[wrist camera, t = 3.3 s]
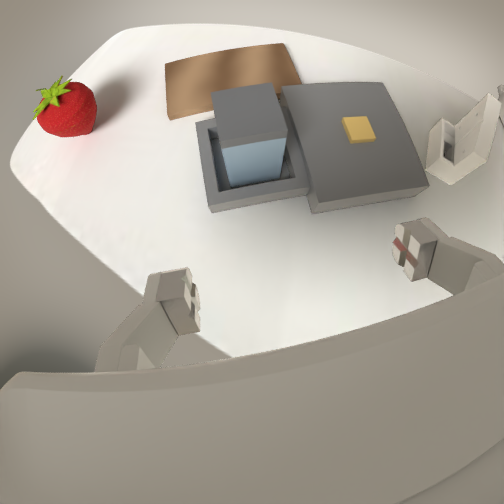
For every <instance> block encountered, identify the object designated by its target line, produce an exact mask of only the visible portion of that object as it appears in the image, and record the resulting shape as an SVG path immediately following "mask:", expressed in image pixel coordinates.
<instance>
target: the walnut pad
mask: <svg viewBox="0 0 504 504" xmlns="http://www.w3.org/2000/svg"><path fill="white" fill-rule="evenodd" d="M165 80H166V100H167V115H168V117H169V119H170V120H174V119H177V118H181V117H185V116H189V115H194V114H198V113H202V112H207V111H211V110H214V109H213V103H212V98H211V92H215V91H221V90H226V89H231V88H237V87H243V86H249V85H256V84H263V83H271V82H272V84H273V87H274V90H275V93H276V96H277V98H278V99H280V94H281V86H290V85H301V84H302V83H301V81H300V79H299V76H298V74H297V72H296V69H295V67H294V65H293V63H292V61H291V58H290V56H289V54H288V52H287V50H286V48H285V46H284V44H283V43H279V44H268V45H258V46H250V47H243V48H236V49H230V50H224V51H218V52H213V53H208V54H203V55H198V56H194V57H190V58H185V59H181V60H177V61H174V62H170V63H166V64H165Z"/></svg>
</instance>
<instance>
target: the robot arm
mask: <svg viewBox="0 0 504 504" xmlns="http://www.w3.org/2000/svg"><path fill="white" fill-rule="evenodd" d="M498 92H499V99H498V101H499V102H501V108H500V113H499V115H500V118H501V120H502V123H503V125H504V86H503V85H500V86H499V87H498ZM394 234H395V236H396V239H395V240H394V242H393V245H392V253H393V257H394V259H395V261H396V262H397V264H398V265H400V266H402V267H404V270H403V272H404V273H405V274H406V276H407V277H408V278H409V280H410V281H411V282H413V281H416V280H420V279H423V278H427V277H428V279H429V280H431V281H433V282H434V283H436V284H437V285H439V286H441V287H442V288H444V289H445V290H447V291H449V292H450V293H452V294H453V295H454V296H451V297H449V298H446V299H444V300H441V301H439V302H436V303H433V304H431V305H428V306H425V307H423V308H420V309H417V310H414V311H412V312H409V313H406V314H403V315H400V316H397V317H394V318H391V319H388V320H385V321H382V322H379V323H375V324H372V325H369V326H366V327H362V328H359V329H356V330H352V331H349V332H345V333H341V334H338V335H334V336H330V337H327V338H323V339H319V340H315V341H311V342H307V343H303V344H298V345H294V346H290V347H285V348H281V349H276V350H271V351H266V352H261V353H256V354H251V355H246V356H240V357H235V358H229V359H223V360H216V361H210V362H203V363H196V364H189V365H181V366H172V367H164V368H160V367H161V365H162V363H163V362H164V360H165V358H166V357H167V355H168V353H169V352H170V350H171V348H172V347H173V345H174V343H175V341H176V340H177V339H178V336H179V335H185V334H190V333H195V332H200V316H199V314H198V311H199V310H200V299H199V294H198V290H197V287H196V285H195V284H194V283H192V274H191V272H190V269H189V268H188V267H186V268H180V269H175V270H169V271H164V272H158V273H154V274H150V275H149V276H148V279H147V284H146V288H145V293H144V297H143V302H142V305H138V306H137V307H136V308H135V310H133V311H132V313H131V314H130V315H129V316H128V317H127V318H126V319H125V320H124V321H123V322H122V323H121V324H120V325H119V327H118V328H117V329H116V330H115V331H114V332H113V333H112V334H111V335H110V336H109V338H108V339H107V340H106V341H105V342H104V343H103V344H102V345H101V346H100V349H99V353H98V358H97V361H96V366H95V370H94V372H93V373H38V372H37V373H36V372H20V373H17V374H16V375H15V376H14V377H13V378H12V379H10V380H9V381H8V382H7V383H6V384H5V385H4V386H3V388H2V389H1V390H0V504H504V263H503V262H502V261H501V260H500V259H499V258H498V257H497V256H496V255H494V254H492V253H490V252H487V251H485V250H483V249H480V248H478V247H476V246H473V245H471V244H468V243H466V242H463V241H461V240H458V239H456V238H453V237H448V236H447V235H446V234H445V233H444V232H443V231H442V230H441V229H440V228H439V227H437V226H436V225H435V224H434V223H433V222H432V221H431V220H430V219H429V218H421V219H417V220H415V221H410V222H405V223H401V224H397V225H396V227H395V231H394Z"/></svg>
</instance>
